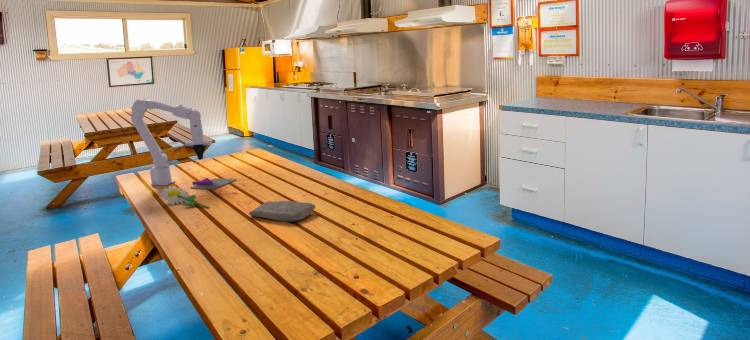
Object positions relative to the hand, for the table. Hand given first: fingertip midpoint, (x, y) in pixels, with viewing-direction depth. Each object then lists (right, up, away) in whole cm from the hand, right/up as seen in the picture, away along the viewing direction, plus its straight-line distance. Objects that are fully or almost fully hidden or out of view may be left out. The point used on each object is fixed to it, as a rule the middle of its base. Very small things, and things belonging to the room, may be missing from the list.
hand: (200, 159), depth 271 cm
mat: (+10, -13, -11) cm, 20 cm away
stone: (+54, -24, -67) cm, 89 cm away
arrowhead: (+2, -11, -8) cm, 14 cm away
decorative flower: (+9, -21, -43) cm, 48 cm away
